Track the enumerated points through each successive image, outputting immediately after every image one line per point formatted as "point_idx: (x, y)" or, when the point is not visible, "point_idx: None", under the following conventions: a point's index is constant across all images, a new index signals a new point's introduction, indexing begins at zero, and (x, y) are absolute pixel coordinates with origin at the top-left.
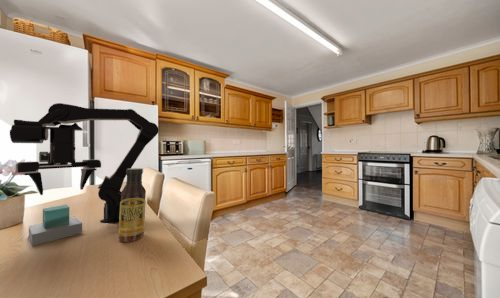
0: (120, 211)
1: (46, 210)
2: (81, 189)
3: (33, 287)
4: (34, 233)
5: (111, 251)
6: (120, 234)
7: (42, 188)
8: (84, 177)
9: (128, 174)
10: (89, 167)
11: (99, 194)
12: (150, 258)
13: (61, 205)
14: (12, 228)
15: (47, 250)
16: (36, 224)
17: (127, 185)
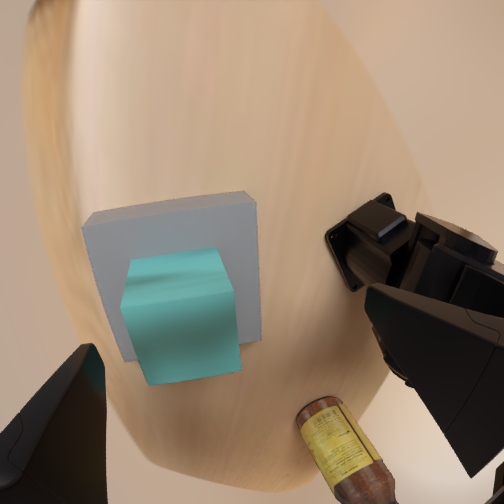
0: (323, 473)
1: (150, 375)
2: (365, 311)
3: (176, 466)
4: (127, 355)
5: (270, 438)
6: (301, 434)
7: (104, 430)
8: (433, 412)
9: None
10: (499, 472)
11: (386, 360)
12: (297, 463)
13: (209, 306)
14: (43, 30)
15: (170, 386)
16: (106, 227)
17: None
